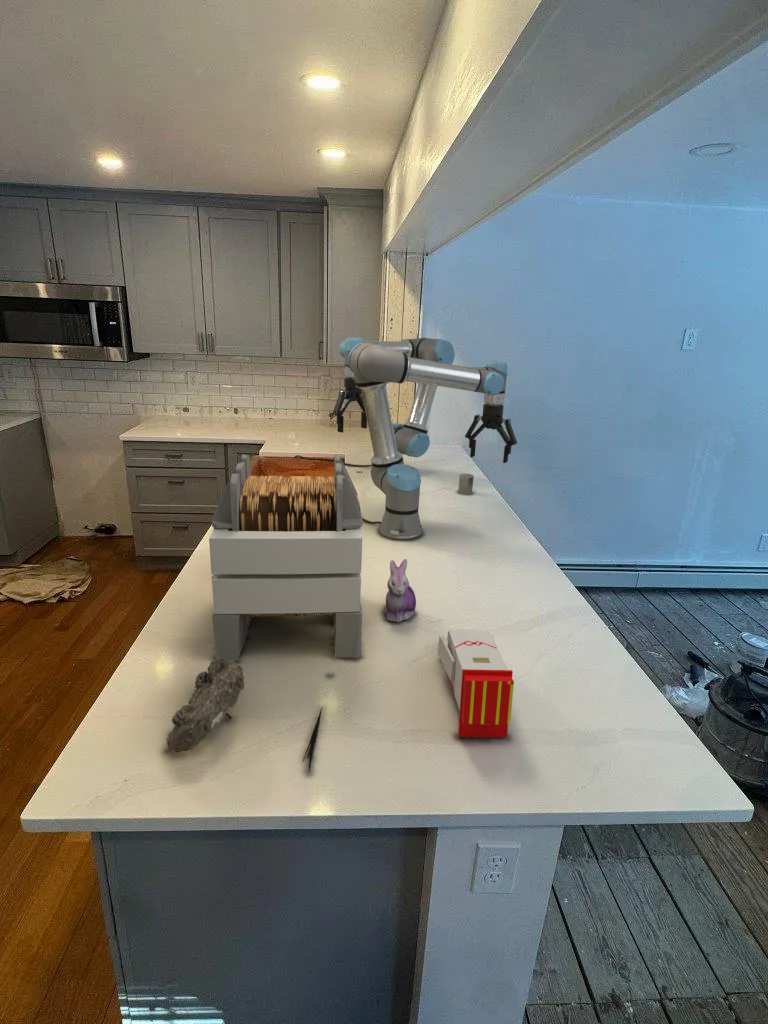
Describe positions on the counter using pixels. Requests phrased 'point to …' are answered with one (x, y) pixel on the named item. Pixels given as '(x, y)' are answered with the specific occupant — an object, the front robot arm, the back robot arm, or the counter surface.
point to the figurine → (399, 594)
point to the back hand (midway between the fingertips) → (352, 430)
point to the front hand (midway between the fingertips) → (488, 459)
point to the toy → (478, 682)
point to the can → (465, 484)
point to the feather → (313, 740)
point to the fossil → (206, 705)
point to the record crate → (286, 555)
